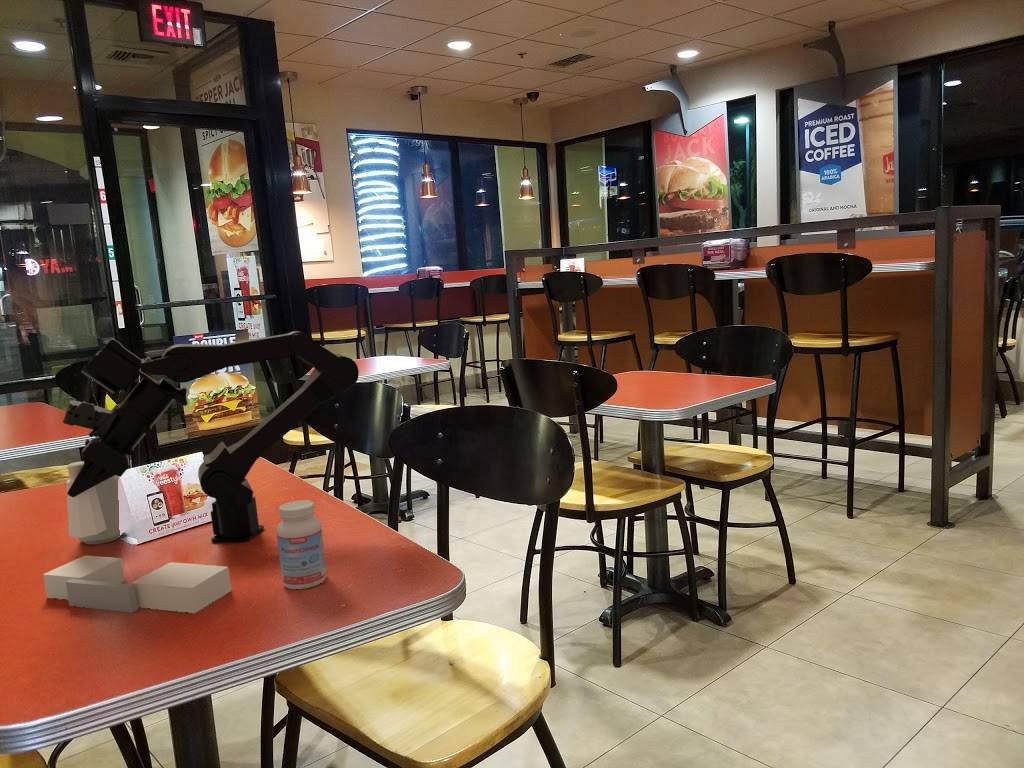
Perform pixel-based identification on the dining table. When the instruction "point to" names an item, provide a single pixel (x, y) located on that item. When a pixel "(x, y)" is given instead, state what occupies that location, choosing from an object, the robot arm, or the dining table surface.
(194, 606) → the grey block set
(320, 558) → the pill bottle
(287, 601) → the dining table surface
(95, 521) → the pepper shaker
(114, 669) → the dining table surface
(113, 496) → the can
